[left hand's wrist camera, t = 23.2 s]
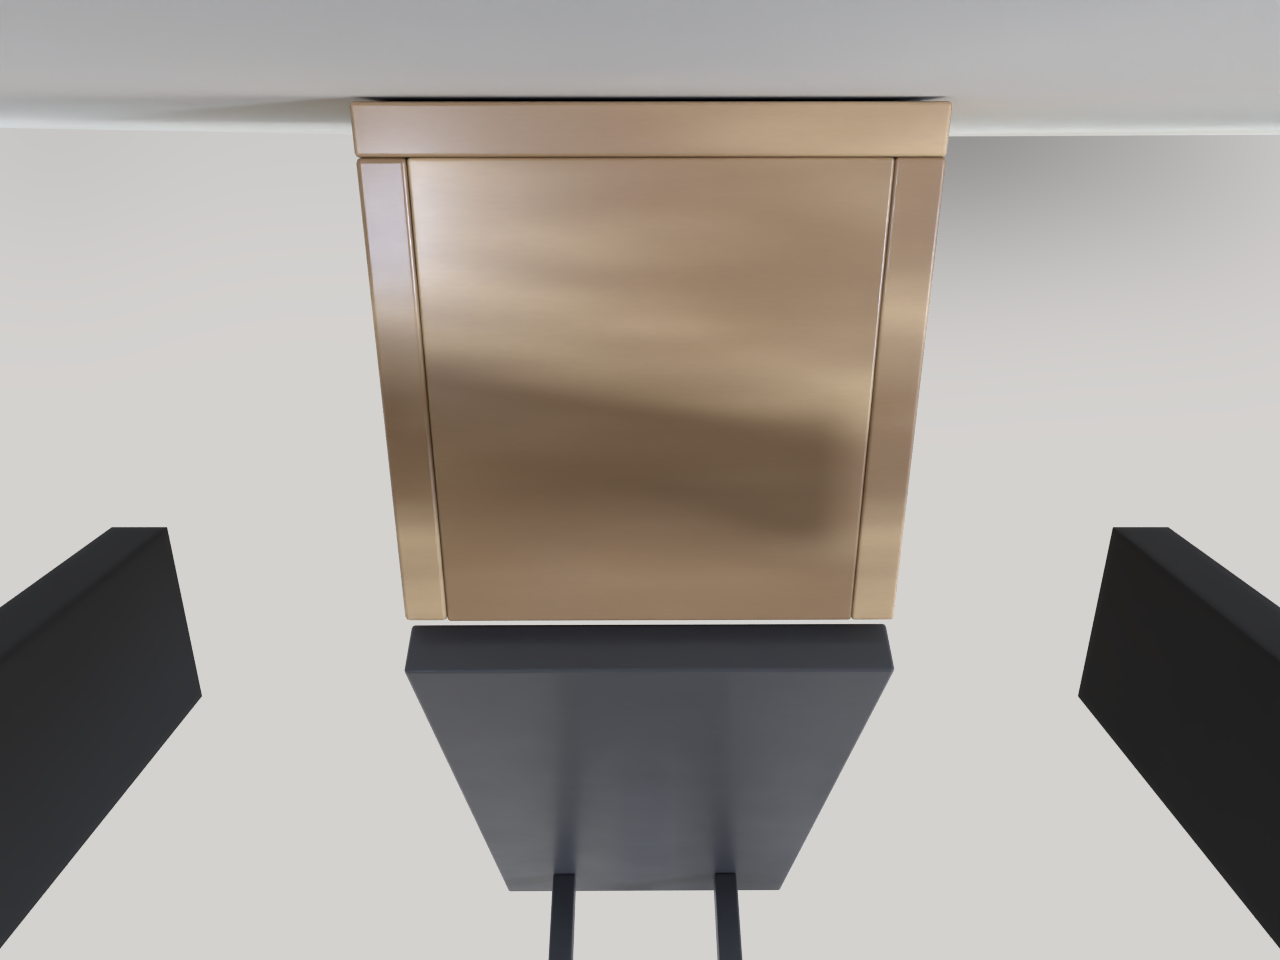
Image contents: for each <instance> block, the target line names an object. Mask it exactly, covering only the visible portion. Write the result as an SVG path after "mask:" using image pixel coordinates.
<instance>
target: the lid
mask: <svg viewBox="0 0 1280 960" xmlns="http://www.w3.org/2000/svg"><path fill="white" fill-rule="evenodd" d="M893 671H894V666H893V661H892V656H891V651H890V645H889V640H888V635H887V630H886V626H885V625H884V624H758V625H757V624H747V625H441V626H440V625H437V626H436V625H434V626H413V628H412V631H411V637H410V642H409V648H408V654H407V660H406V666H405V673H406V675H407V677H408V679H409V681H410V683H411V685H412V688H413V690H414V692H415V694H416V696H417V698H418V700H419V702H420V704H421V706H422V709H423V711H424V713H425V715H426V717H427V719H428V721H429V723H430V725H431V727H432V730H433V732H434V734H435V736H436V738H437V740H438V742H439V744H440V746H441V749H442V751H443V753H444V755H445V757H446V759H447V761H448V763H449V765H450V767H451V770H452V772H453V774H454V776H455V778H456V780H457V782H458V784H459V786H460V788H461V791H462V793H463V795H464V797H465V799H466V801H467V803H468V805H469V807H470V809H471V811H472V814H473V816H474V818H475V820H476V822H477V824H478V826H479V828H480V831H481V833H482V835H483V837H484V839H485V841H486V843H487V845H488V847H489V849H490V852H491V854H492V856H493V858H494V860H495V862H496V864H497V866H498V868H499V870H500V873H501V875H502V877H503V879H504V881H505V883H506V885H507V887H508V889H509V891H552V907H551V926H550V946H549V960H573V944H574V918H575V891H631V890H632V891H634V890H714V899H715V918H716V938H717V957H718V960H742V950H741V935H740V920H739V906H738V891H737V890H779V889H780V887H781V886H782V884H783V882H784V880H785V878H786V876H787V874H788V872H789V870H790V868H791V866H792V864H793V863H794V861H795V859H796V857H797V855H798V853H799V851H800V849H801V847H802V845H803V843H804V841H805V840H806V838H807V836H808V834H809V832H810V830H811V828H812V826H813V824H814V822H815V820H816V818H817V817H818V815H819V813H820V811H821V809H822V807H823V805H824V803H825V801H826V799H827V797H828V795H829V794H830V792H831V790H832V788H833V786H834V784H835V782H836V780H837V778H838V776H839V774H840V772H841V771H842V769H843V767H844V765H845V763H846V761H847V759H848V757H849V755H850V753H851V751H852V749H853V747H854V746H855V744H856V742H857V740H858V738H859V736H860V734H861V732H862V730H863V728H864V726H865V725H866V723H867V721H868V719H869V717H870V715H871V713H872V711H873V709H874V707H875V705H876V703H877V702H878V700H879V698H880V696H881V694H882V692H883V690H884V688H885V686H886V684H887V682H888V680H889V679H890V677H891V675H892V673H893Z"/></svg>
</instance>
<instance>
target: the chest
mask: <svg viewBox="0 0 1280 960" xmlns="http://www.w3.org/2000/svg"><path fill="white" fill-rule="evenodd" d="M951 110H952V104H951V102H949V101H446V102H352V103H351V104H350V113H351V122H352V131H353V141H354V150H355V154H356V156H357V157H362V158H359V159H358V160H357V173H358V182H359V191H360V201H361V210H362V219H363V228H364V237H365V247H366V256H367V265H368V275H369V283H370V293H371V302H372V311H373V321H374V330H375V339H376V348H377V358H378V367H379V376H380V385H381V394H382V404H383V413H384V422H385V431H386V440H387V450H388V459H389V468H390V477H391V487H392V496H393V505H394V515H395V524H396V532H397V542H398V552H399V561H400V570H401V579H402V589H403V598H404V607H405V616H406V618H407V619H408V620H444V619H446V618H447V616H448V619H449V620H450V621H489V620H490V621H492V620H808V619H809V620H810V619H850V617H851V618H852V619H892V618H893V614H894V606H895V597H896V588H897V579H898V571H899V562H900V553H901V545H902V536H903V527H904V519H905V510H906V501H907V493H908V484H909V475H910V467H911V458H912V449H913V441H914V432H915V423H916V415H917V406H918V397H919V388H920V380H921V371H922V362H923V354H924V345H925V337H926V328H927V319H928V310H929V302H930V293H931V284H932V276H933V267H934V258H935V250H936V241H937V232H938V224H939V215H940V206H941V198H942V189H943V180H944V172H945V163H946V160H945V158H943V156H945V155H946V153H947V145H948V136H949V127H950V119H951Z"/></svg>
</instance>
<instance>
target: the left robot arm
mask: <svg viewBox="0 0 1280 960" xmlns="http://www.w3.org/2000/svg"><path fill="white" fill-rule="evenodd" d="M201 697H202V694H201V689H200V685H199V680H198V675H197V670H196V665H195V660H194V656H193V651H192V646H191V641H190V636H189V631H188V627H187V622H186V617H185V612H184V607H183V602H182V598H181V593H180V588H179V583H178V578H177V573H176V569H175V564H174V559H173V554H172V549H171V544H170V540H169V535H168V530H167V527H112V528H110V529H109V530H107V531H106V532H105V533H103V534H102V535H100V536H99V537H98V538H96V539H95V540H94V541H92V542H91V543H89V544H88V545H87V546H85V547H84V548H82V549H81V550H80V551H78V552H77V553H75V554H74V555H73V556H71V557H70V558H68V559H67V560H66V561H64V562H63V563H61V564H60V565H59V566H57V567H56V568H54V569H53V570H52V571H50V572H49V573H48V574H46V575H45V576H43V577H42V578H41V579H39V580H38V581H36V582H35V583H34V584H32V585H31V586H29V587H28V588H27V589H25V590H24V591H22V592H21V593H20V594H18V595H17V596H15V597H14V598H13V599H11V600H10V601H8V602H7V603H6V604H4V605H3V606H2V607H0V948H1V947H2V945H3V944H4V943H5V942H6V940H7V939H8V938H9V937H10V935H11V934H12V933H13V932H14V930H15V929H16V928H17V927H18V925H19V924H20V923H21V922H22V920H23V919H24V918H25V917H26V915H27V914H28V913H29V912H30V910H31V909H32V908H33V907H34V905H35V904H36V903H37V902H38V900H39V899H40V898H41V897H42V895H43V894H44V893H45V892H46V890H47V889H48V888H49V887H50V885H51V884H52V883H53V882H54V880H55V879H56V878H57V877H58V875H59V874H60V873H61V872H62V870H63V869H64V868H65V867H66V865H67V864H68V863H69V862H70V860H71V859H72V858H73V857H74V855H75V854H76V853H77V852H78V850H79V849H80V848H81V847H82V845H83V844H84V843H85V842H86V840H87V839H88V838H89V837H90V835H91V834H92V833H93V832H94V830H95V829H96V828H97V827H98V825H99V824H100V823H101V822H102V820H103V819H104V818H105V817H106V815H107V814H108V813H109V812H110V810H111V809H112V808H113V807H114V805H115V804H116V803H117V802H118V800H119V799H120V798H121V797H122V795H123V794H124V793H125V792H126V790H127V789H128V788H129V787H130V785H131V784H132V783H133V782H134V780H135V779H136V778H137V777H138V775H139V774H140V773H141V772H142V770H143V769H144V768H145V767H146V765H147V764H148V763H149V762H150V760H151V759H152V758H153V757H154V755H155V754H156V753H157V752H158V750H159V749H160V748H161V747H162V745H163V744H164V743H165V742H166V740H167V739H168V738H169V737H170V735H171V734H172V733H173V732H174V730H175V729H176V728H177V727H178V725H179V724H180V723H181V722H182V720H183V719H184V718H185V716H186V715H187V714H188V713H189V712H190V710H191V709H192V708H193V707H194V705H195V704H196V703H197V702H198V700H199V699H200V698H201ZM1078 697H1079V698H1080V699H1081V700H1082V702H1083V703H1084V704H1085V705H1086V707H1087V708H1088V709H1089V710H1090V712H1091V713H1092V714H1093V715H1094V717H1095V718H1096V719H1097V720H1098V722H1099V723H1100V724H1101V725H1102V727H1103V728H1104V729H1105V730H1106V732H1107V733H1108V734H1109V735H1110V737H1111V738H1112V739H1113V740H1114V742H1115V743H1116V744H1117V745H1118V747H1119V748H1120V749H1121V750H1122V752H1123V753H1124V754H1125V755H1126V757H1127V758H1128V759H1129V760H1130V762H1131V763H1132V764H1133V765H1134V767H1135V768H1136V769H1137V770H1138V772H1139V773H1140V774H1141V775H1142V777H1143V778H1144V779H1145V780H1146V782H1147V783H1148V784H1149V785H1150V787H1151V788H1152V789H1153V790H1154V792H1155V793H1156V794H1157V795H1158V797H1159V798H1160V799H1161V800H1162V802H1163V803H1164V804H1165V805H1166V807H1167V808H1168V809H1169V810H1170V812H1171V813H1172V814H1173V815H1174V817H1175V818H1176V819H1177V820H1178V822H1179V823H1180V824H1181V825H1182V827H1183V828H1184V829H1185V830H1186V832H1187V833H1188V834H1189V835H1190V837H1191V838H1192V839H1193V840H1194V842H1195V843H1196V844H1197V845H1198V847H1199V848H1200V849H1201V850H1202V852H1203V853H1204V854H1205V855H1206V857H1207V858H1208V859H1209V860H1210V862H1211V863H1212V864H1213V865H1214V867H1215V868H1216V869H1217V870H1218V872H1219V873H1220V874H1221V875H1222V877H1223V878H1224V879H1225V880H1226V882H1227V883H1228V884H1229V885H1230V887H1231V888H1232V889H1233V890H1234V892H1235V893H1236V894H1237V895H1238V897H1239V898H1240V899H1241V900H1242V902H1243V903H1244V904H1245V905H1246V907H1247V908H1248V909H1249V910H1250V912H1251V913H1252V914H1253V915H1254V917H1255V918H1256V919H1257V920H1258V922H1259V923H1260V924H1261V925H1262V927H1263V928H1264V929H1265V930H1266V932H1267V933H1268V934H1269V935H1270V937H1271V938H1272V939H1273V940H1274V942H1275V943H1276V944H1277V945H1278V947H1279V948H1280V607H1278V606H1277V605H1276V604H1274V603H1273V602H1272V601H1270V600H1269V599H1267V598H1266V597H1265V596H1263V595H1262V594H1260V593H1259V592H1258V591H1256V590H1255V589H1253V588H1252V587H1250V586H1249V585H1248V584H1246V583H1245V582H1244V581H1242V580H1241V579H1239V578H1238V577H1237V576H1235V575H1234V574H1232V573H1231V572H1230V571H1228V570H1227V569H1226V568H1224V567H1223V566H1221V565H1220V564H1219V563H1217V562H1216V561H1214V560H1213V559H1212V558H1210V557H1209V556H1207V555H1206V554H1205V553H1203V552H1202V551H1200V550H1199V549H1198V548H1196V547H1195V546H1193V545H1192V544H1191V543H1189V542H1188V541H1186V540H1185V539H1184V538H1182V537H1181V536H1180V535H1178V534H1177V533H1175V532H1174V531H1173V530H1171V529H1170V528H1168V527H1113V530H1112V535H1111V540H1110V545H1109V549H1108V554H1107V559H1106V564H1105V569H1104V573H1103V578H1102V583H1101V588H1100V593H1099V598H1098V602H1097V607H1096V612H1095V617H1094V622H1093V627H1092V631H1091V636H1090V641H1089V646H1088V651H1087V656H1086V661H1085V665H1084V670H1083V675H1082V680H1081V685H1080V689H1079V694H1078Z"/></svg>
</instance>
